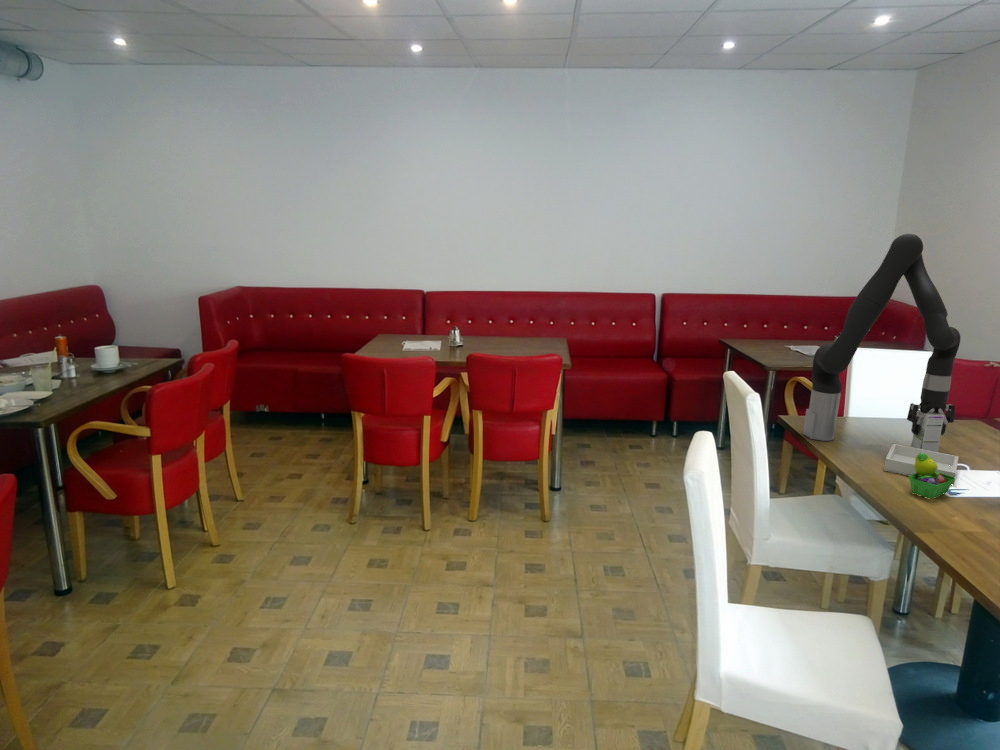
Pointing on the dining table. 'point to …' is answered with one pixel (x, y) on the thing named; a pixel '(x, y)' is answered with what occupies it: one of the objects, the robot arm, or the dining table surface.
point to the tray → (904, 460)
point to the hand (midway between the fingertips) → (927, 434)
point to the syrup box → (929, 432)
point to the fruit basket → (928, 478)
